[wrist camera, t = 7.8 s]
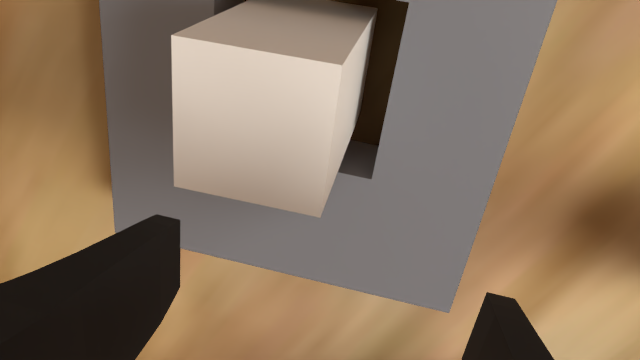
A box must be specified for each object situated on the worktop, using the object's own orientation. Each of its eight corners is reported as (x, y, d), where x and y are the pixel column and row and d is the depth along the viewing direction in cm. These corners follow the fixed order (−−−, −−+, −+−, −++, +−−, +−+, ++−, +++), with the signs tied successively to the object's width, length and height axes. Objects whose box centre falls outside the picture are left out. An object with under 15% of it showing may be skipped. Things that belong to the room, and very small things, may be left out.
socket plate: (447, 266, 22) (449, 313, 20) (150, 197, 24) (115, 232, 21) (588, -168, 15) (621, -186, 12) (137, -228, 16) (81, -255, 14)
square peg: (360, 113, 20) (320, 217, 13) (262, 94, 21) (173, 186, 14) (377, 8, 18) (342, 65, 11) (269, -10, 19) (171, 35, 12)
